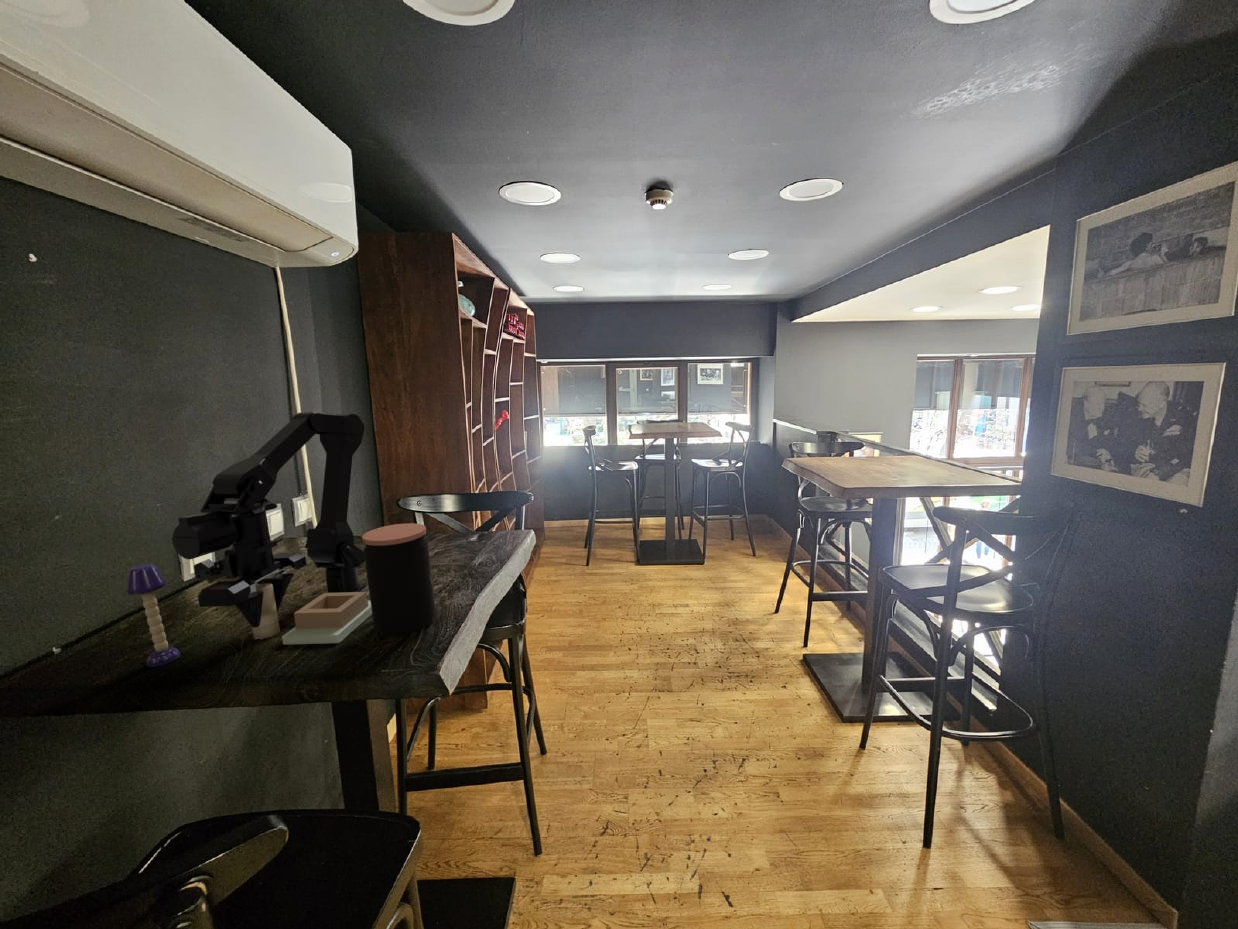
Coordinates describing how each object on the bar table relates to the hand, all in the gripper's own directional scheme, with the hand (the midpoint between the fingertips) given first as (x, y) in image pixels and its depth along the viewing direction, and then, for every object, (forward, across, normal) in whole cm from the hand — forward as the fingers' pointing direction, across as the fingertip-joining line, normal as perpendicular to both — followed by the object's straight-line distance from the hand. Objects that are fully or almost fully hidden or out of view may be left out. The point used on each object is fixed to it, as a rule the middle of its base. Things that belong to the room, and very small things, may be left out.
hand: (264, 621), depth 90 cm
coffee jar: (+3, -2, +25) cm, 25 cm away
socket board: (+2, -3, +11) cm, 12 cm away
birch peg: (+2, 0, 0) cm, 2 cm away
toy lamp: (+3, +8, -12) cm, 15 cm away
